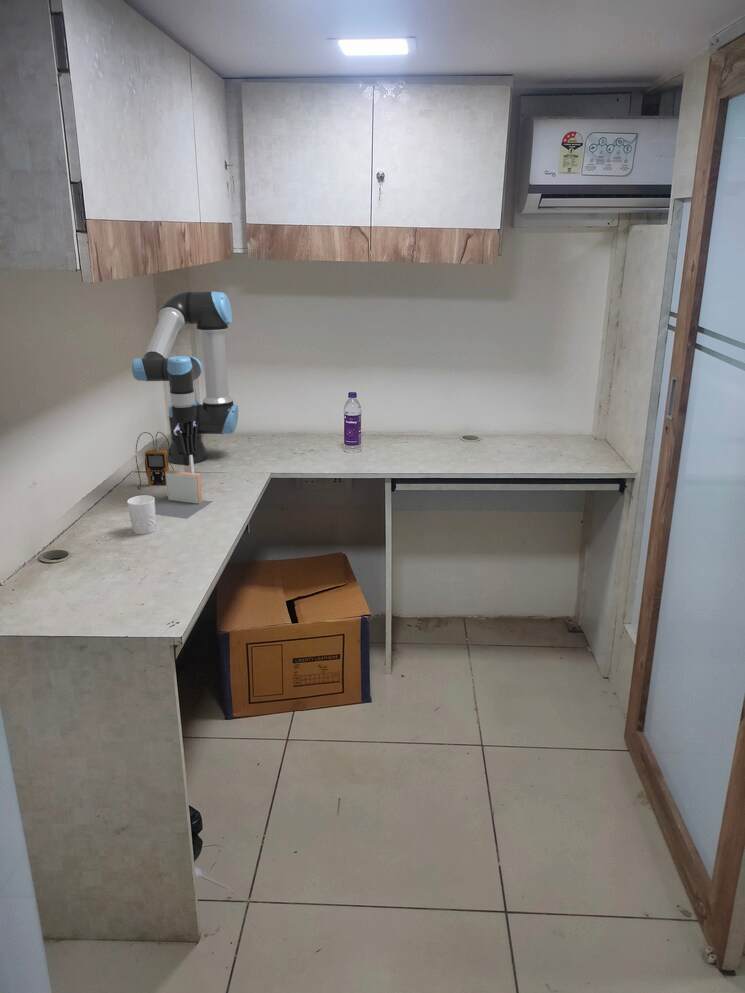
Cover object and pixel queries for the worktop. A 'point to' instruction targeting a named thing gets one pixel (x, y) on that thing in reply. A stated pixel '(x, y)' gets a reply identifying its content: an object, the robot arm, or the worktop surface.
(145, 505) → the white cup
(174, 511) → the mat
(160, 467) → the multimeter
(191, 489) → the tile
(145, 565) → the worktop surface
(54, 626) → the worktop surface
